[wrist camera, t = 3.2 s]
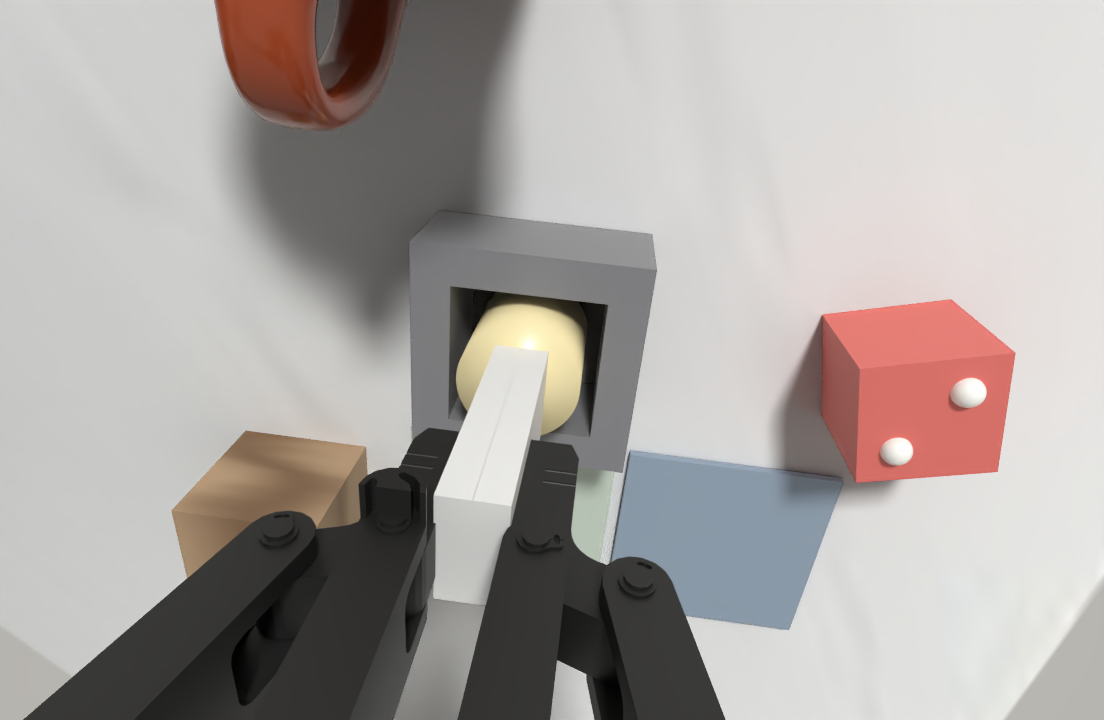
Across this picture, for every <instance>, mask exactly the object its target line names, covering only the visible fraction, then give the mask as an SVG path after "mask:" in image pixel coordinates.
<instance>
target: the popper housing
mask: <svg viewBox="0 0 1104 720" xmlns="http://www.w3.org/2000/svg"><path fill="white" fill-rule="evenodd" d="M409 270H410V334H411V397H412V441H413V439H414V438H415V437H416V436H418V435H419V434H420V433H422V432H423V431H424V430H426V429H427V428H436V429H444V430H451V431H459V432H460V430H461V428H462V425H463V423H464V420H465V418H466V415H467V413H468V411H467V410H466V408H465V407H464V405H463V403H462V401H461V399H460V397H459V394H458V391H457V386H456V372H457V367H458V364H459V361H460V359H461V357H462V355H463V353H464V351H465V349H466V346H467V344H468V342H469V340H470V338H471V336H472V323H473V292H474V289H479V290H487V291H496V292H504V293H513V294H521V295H530V296H538V297H547V298H555V299H563V300H572V301H580V302H589V303H597V304H605V311H604V318H603V326H602V333H601V340H600V348H599V355H598V363H597V370H596V378H595V384H588V383H581V388H580V395H579V400H578V403H577V405H576V408H575V410H574V411H573V413H572V415H571V416H570V417H569V418H568V420H567V421H566V422H565V423H564V424H562V425H561V426H560V427H558V428H557V429H555V430H553V431H551V432H549V433H547V434H544V435H541V436H540V440H539V441H546V442H554V443H561V444H569V445H572V446H573V448H574V450H575V452H576V454H577V456H578V458H579V463H578V467H582V468H590V469H597V470H605V471H613V472H620V473H623V467H624V461H625V455H626V449H627V443H628V437H629V431H630V425H631V420H632V414H633V408H634V402H635V396H636V390H637V384H638V378H639V372H640V367H641V361H642V355H643V349H644V343H645V337H646V331H647V325H648V319H649V314H650V308H651V302H652V296H653V290H654V284H655V278H656V272H657V267H656V259H655V252H654V244H653V237H652V234H646V233H637V232H628V231H619V230H610V229H601V228H592V227H584V226H575V225H566V224H557V223H548V222H539V221H530V220H522V219H513V218H504V217H495V216H486V215H477V214H468V213H460V212H451V211H442V210H440V211H439V212H438V213H437V214H436V215H435V216H434V217H433V218H432V219H431V220H430V221H429V222H428V223H427V224H426V225H425V226H424V227H423V228H422V229H421V230H420V231H419V232H418V233H417V234H416V235H415V236H414V237H413V238H412V239H411V240H410V241H409Z"/></svg>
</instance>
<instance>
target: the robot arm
mask: <svg viewBox="0 0 1104 720" xmlns="http://www.w3.org/2000/svg"><path fill="white" fill-rule="evenodd" d="M548 354H549V351H541V350H533V349H525V348H516V347H508V346H500V345H495V348H494V350H493V352H492V355H491V357H490V360H489V362H488V365H487V367H486V369H485V372H484V374H483V377H482V379H481V382H480V384H479V386H478V389H477V391H476V394H475V396H474V399H473V401H472V403H471V406H470V408H469V411H468V413H467V415H466V418H465V420H464V423H463V425H462V428H461V430H460V432H459V431H451V430H444V429H436V428H427V429H426V430H424V431H423V432H422V433H420V434H419V435H418V436H416V437H415V438H414V439H413V441H412V443H411V445H410V447H409V449H408V451H407V455H405V457H404V459H403V461H402V462H401V466H399V468H387V469H382V470H378V471H375V472H373V473H371V474H369V475H367V476H366V477H365V478H364V479H363V480H362V481H361V482H360V483H359V484H358V486H359V502H360V519H359V521H358V522H356V523H353V524H350V525H345V526H339V527H330V528H320V529H316V525H315V523H314V521H313V520H312V518H311V517H309V516H307V515H306V514H304V513H302V512H296V511H290V510H289V511H279V512H274V513H271V514H268V515H265V516H262V517H260V518H259V519H257V520H256V521H254V522H253V523H251V524H250V525H249V526H247V527H246V528H245V529H244V530H243V531H242V532H240V533H239V534H238V535H237V536H236V537H235V538H234V539H232V540H231V541H230V542H229V543H228V544H227V545H225V546H224V547H223V548H222V549H221V550H220V551H218V552H217V553H216V554H215V555H214V556H213V557H211V558H210V559H209V560H208V561H207V562H206V563H204V564H203V565H202V566H201V567H200V568H199V569H198V570H196V571H195V572H194V573H193V574H192V575H191V576H189V577H188V578H187V579H186V580H185V581H184V582H182V583H181V584H180V585H179V586H178V587H177V588H175V589H174V590H173V591H172V592H171V593H170V594H169V595H167V596H166V597H165V598H164V599H163V600H162V601H160V602H159V603H158V604H157V605H156V606H155V607H153V608H152V609H151V610H150V611H149V612H148V613H146V614H145V615H144V616H143V617H142V618H141V619H140V620H138V621H137V622H136V623H135V624H134V625H133V626H131V627H130V628H129V629H128V630H127V631H126V632H124V633H123V634H122V635H121V636H120V637H119V638H117V639H116V640H115V641H114V642H113V643H112V644H111V645H109V646H108V647H107V648H106V649H105V650H104V651H102V652H101V653H100V654H99V655H98V656H97V657H95V658H94V659H93V660H92V661H91V662H90V663H88V664H87V665H86V666H85V667H84V668H83V669H81V670H80V671H79V672H78V673H77V674H76V675H75V676H73V677H72V678H71V679H70V680H69V681H68V682H66V683H65V684H64V685H63V686H62V687H61V688H59V689H58V690H57V691H56V692H55V693H54V694H53V695H51V696H50V697H49V698H48V699H47V700H46V701H44V702H43V703H42V704H41V705H40V706H39V707H38V708H36V709H35V710H34V711H33V712H32V713H30V714H29V715H28V716H27V717H26V718H25V719H23V720H393V718H394V715H395V712H396V709H397V706H398V703H399V700H400V697H401V694H402V691H403V688H404V686H405V683H406V680H407V677H408V674H409V671H410V668H411V665H412V662H413V659H414V656H415V653H416V650H417V647H418V644H419V641H420V638H421V635H422V632H423V629H424V626H425V623H426V619H427V599H428V596H429V593H430V591H431V588H432V585H433V598H434V599H441V600H448V601H455V602H462V603H469V604H476V605H483V606H486V607H485V611H484V615H483V619H482V623H481V627H480V631H479V635H478V639H477V643H476V647H475V651H474V655H473V659H472V663H471V667H470V671H469V675H468V679H467V684H466V688H465V692H464V696H463V700H462V704H461V708H460V712H459V716H458V720H550V716H551V707H552V698H553V690H554V681H555V672H556V663H557V660H558V661H560V662H563V663H565V664H567V665H569V666H571V667H573V668H575V669H577V670H579V671H581V672H583V673H585V674H587V684H588V689H589V694H590V699H591V704H592V709H593V714H594V719H595V720H725V717H724V715H723V712H722V709H721V707H720V704H719V702H718V699H717V696H716V694H715V691H714V689H713V686H712V684H711V681H710V678H709V676H708V673H707V671H706V668H705V665H704V663H703V660H702V658H701V655H700V652H699V650H698V647H697V645H696V642H695V639H694V637H693V634H692V632H691V629H690V626H689V624H688V621H687V619H686V616H685V613H684V611H683V608H682V606H681V603H680V601H679V598H678V595H677V593H676V590H675V588H674V585H673V582H672V580H671V579H670V577H669V576H668V574H667V573H666V571H665V570H664V569H662V568H661V567H660V566H658V565H657V564H656V563H654V562H652V561H649V560H647V559H644V558H640V557H630V556H628V557H623V558H618V559H616V560H614V561H613V562H611V563H609V564H608V565H605V564H603V563H600V562H598V561H596V560H594V559H592V558H590V557H588V556H587V555H585V554H584V553H583V552H582V551H580V550H579V548H578V547H577V546H576V544H575V543H574V540H573V538H572V533H571V527H572V518H573V509H574V500H575V490H576V481H577V472H578V463H579V458H578V456H577V454H576V452H575V450H574V448H573V446H572V445H569V444H561V443H554V442H546V441H539V440H540V436H541V428H542V417H543V407H544V396H545V386H546V375H547V364H548Z"/></svg>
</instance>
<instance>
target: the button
mask: <svg viewBox="0 0 1104 720" xmlns="http://www.w3.org/2000/svg"><path fill="white" fill-rule="evenodd" d="M586 338H587V321H586V317H585V314H584V311H583V309H582V307H581V305H580V304H579V302H578V301H572V300H563V299H555V298H547V297H538V296H530V295H521V294H513V293H504V292H496V293H495V294H494V295H493V297H492V298H491V299H490V301H489V302H488V304H487V306H486V308H485V310H484V312H483V314H482V316H481V318H480V320H479V322H478V324H477V326H476V328H475V330H474V332H473V334H472V336H471V338H470V340H469V342H468V344H467V346H466V349H465V351H464V353H463V355H462V357H461V359H460V361H459V364H458V367H457V372H456V386H457V391H458V394H459V397H460V399H461V401H462V403H463V405H464V407H465V408H466V410H467V411H469V408H470V406H471V403H472V401H473V399H474V396H475V394H476V391H477V389H478V386H479V384H480V382H481V379H482V377H483V374H484V372H485V369H486V367H487V365H488V362H489V360H490V357H491V355H492V352H493V350H494V348H495V345H500V346H508V347H516V348H525V349H533V350H541V351H549V354H548V364H547V375H546V386H545V396H544V407H543V417H542V428H541V435H544V434H547V433H549V432H551V431H553V430H555V429H557V428H558V427H560V426H561V425H562V424H564V423H565V422H566V421H567V420H568V418H569V417H570V416H571V415H572V413H573V411H574V410H575V408H576V405H577V403H578V400H579V395H580V388H581V379H582V371H583V363H584V355H585V347H586Z"/></svg>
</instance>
